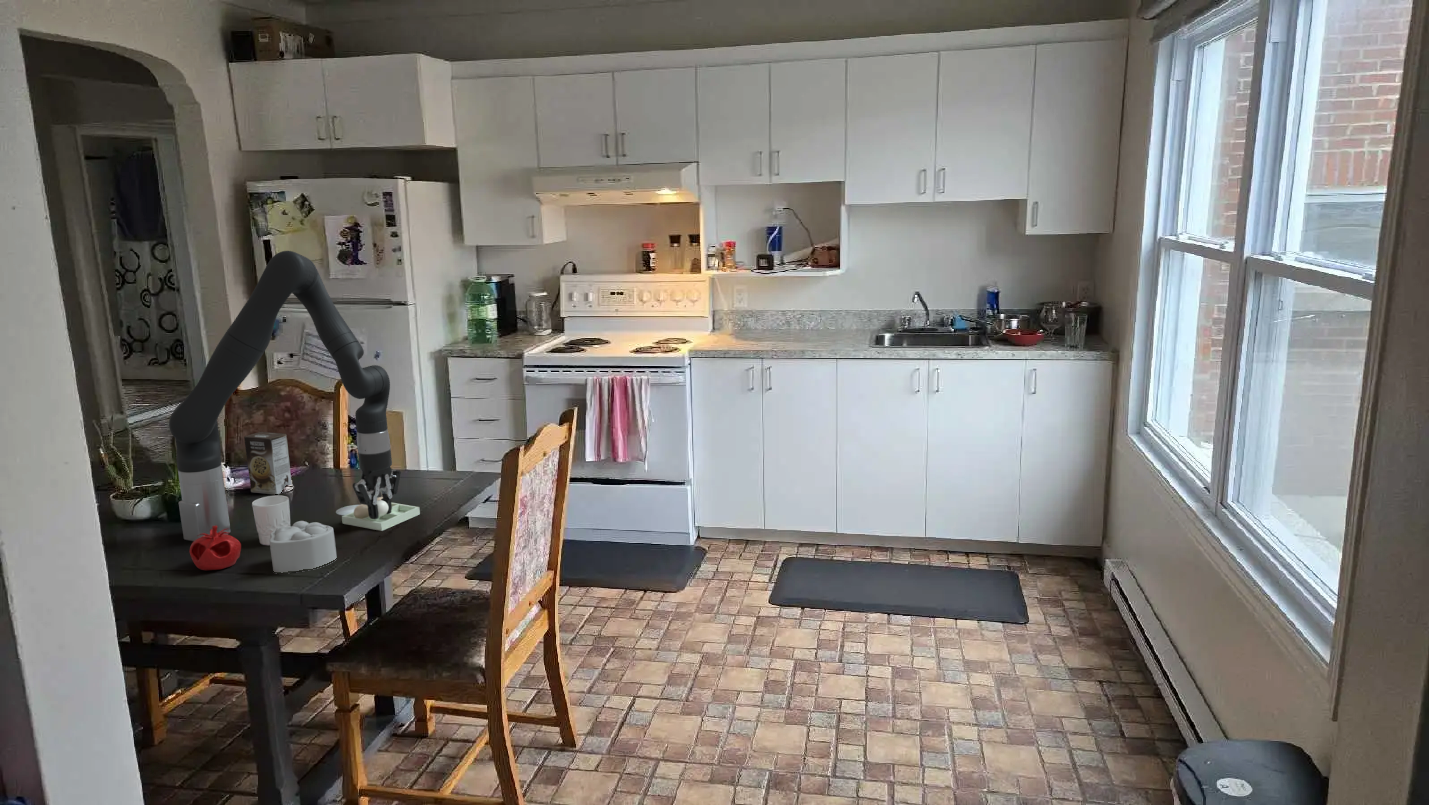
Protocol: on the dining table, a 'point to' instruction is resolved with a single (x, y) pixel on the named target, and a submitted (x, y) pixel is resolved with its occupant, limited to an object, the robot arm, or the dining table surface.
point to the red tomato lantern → (215, 550)
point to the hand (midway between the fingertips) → (380, 515)
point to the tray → (383, 522)
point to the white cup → (270, 515)
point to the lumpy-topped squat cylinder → (302, 546)
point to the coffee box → (268, 462)
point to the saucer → (346, 510)
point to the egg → (382, 507)
